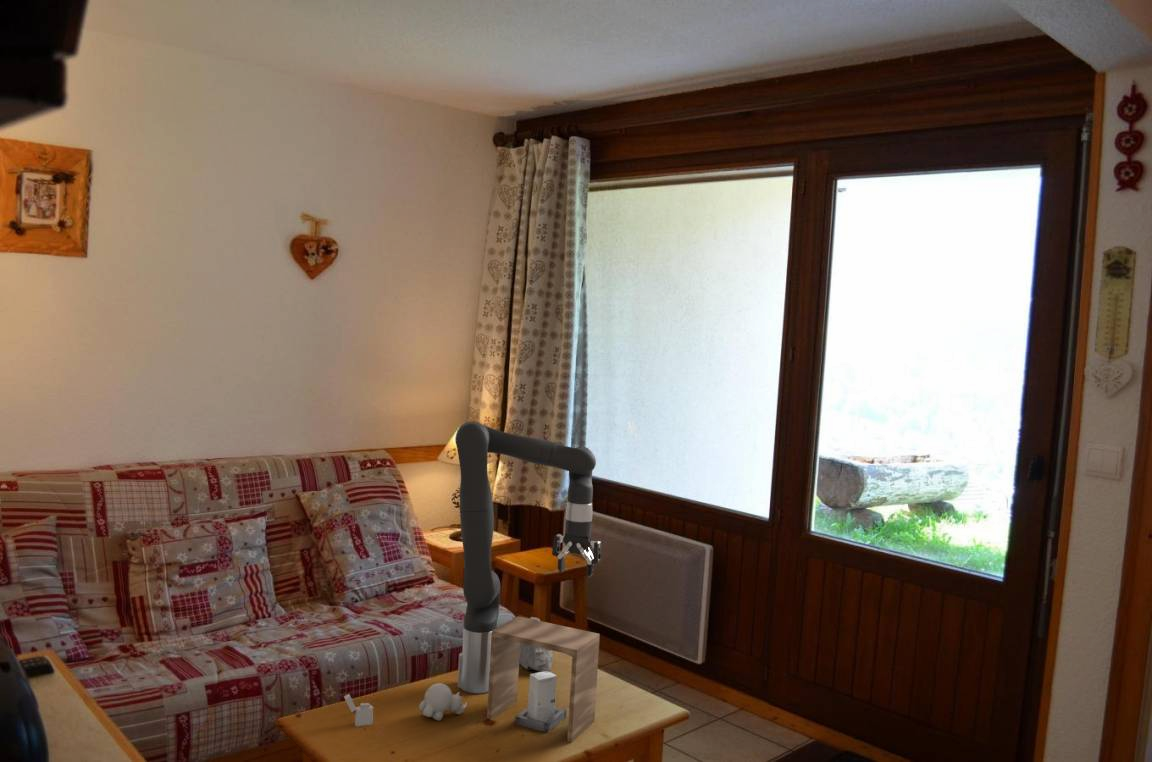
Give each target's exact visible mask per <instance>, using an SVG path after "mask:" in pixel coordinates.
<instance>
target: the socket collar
mask: <svg viewBox="0 0 1152 762" xmlns="http://www.w3.org/2000/svg"><path fill="white" fill-rule="evenodd" d="M527 712H528V706H527V707H526V708H525V709H523V710H521V712H519V713H517V715H515V718H514V719H515V720H514V723H515V725H517V724H518V726H520V725H521V726H520V727H525V728H529V729H531V728H532V730H535V731H539V730H540V731H539V732H542V731H543V733H546V732H547V734H548V733H549V732H551V729H552V728H553V729H554V728H555V727H557V726H558V723H559V722H560V721H561V722H562V721H563V720H564V719H566V718H567V709H566V708H562V707H559V706H558V707H557V706H555V711H554V716H553V717H552V718H551V719H549V720H548V721H547V722H543V721H539V720H535V719H532V718H528V717H527ZM565 717H566V718H565ZM561 722H560V723H561ZM560 723H559V724H560ZM553 729H552V730H553Z"/></svg>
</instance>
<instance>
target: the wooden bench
mask: <svg viewBox="0 0 1152 762" xmlns="http://www.w3.org/2000/svg"><path fill="white" fill-rule="evenodd" d="M529 618H530V617H529ZM529 618H528V617H523V616H518V615H517V616H516V617H513V618H512V619H510V620H509V621H506V622H505V623H503V624H501V625H499V626H498V627H497V628H496V629H494V630H492V634H491V653H490V671H489V690H488V692H487V694H488V695H487V712H486V714H487V715H486V720H487V719H489V720H488V721H492V720H493V718H494V717H495V718H496V717H498V716H499V715H500V714H502V713H503V712H505V711H506V710H507V709H508V707H509V708H510V707H512V706H513V705H514V704H515V703H517V701H518V689H519V673H520V672H519V671H520V664H519V656H520V643H522V644H526V645H531V646H535V647H539V648H544V649H548V650H553V652H557V653H563V654H566V655H570V656H572V657H571V672H570V689H569V706H568V721H567V722H568V725H567V742H568V743H571V744H572V743H573V742H574V741H575V740H576V739H577V738H579V736H580V735H582V734H583V733H584V732H585V731H586V730H587V729H588V728H589V727H590V726H592V724H593V723H594V722H595V718H596V717H595V716H596V700H597V699H596V698H597V686H598V683H597V682H598V671H599V670H598V667H599V654H600V652H599V651H600V639H601V638H600V633H597V632H592V631H588V630H584V629H580V628H575V627H569V626H564V625H561V624H555V623H550V622H546V621H542V620H540V621H538V620H533V619H529ZM512 704H513V705H512ZM505 709H506V710H505ZM501 712H502V713H501ZM497 715H498V716H497ZM495 718H494V719H495ZM491 719H492V720H491Z"/></svg>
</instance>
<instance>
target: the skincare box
mask: <svg viewBox="0 0 1152 762" xmlns="http://www.w3.org/2000/svg"><path fill="white" fill-rule="evenodd" d="M528 683H529V684H528V699H527V707H528V712H527V717H528V718H532V719H535V720H539V721H543V722H547V721H548V720H549V719H551V718H552V717H553V716H554V711H555V707H556V691H557V675H556V674H555V673H552V672H551V671H538V672H535V673H530V674H529V681H528Z"/></svg>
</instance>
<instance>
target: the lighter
mask: <svg viewBox="0 0 1152 762" xmlns="http://www.w3.org/2000/svg"><path fill="white" fill-rule="evenodd" d="M343 698H344V699H345V702H346V704H347V706H348V708H349V710H350V711H351V713H353V712H354V711H355V712H354V713H355V715H354V718H355V719H354V725H355V727H364V726H371V725H373V722H374V720H373V719H374V718H373V717H374V707H373V705H371V704H370V703H368V702H361V703H360V704H359V705H360V706H356V705H355V703H354V700H353V698H352V697H351V695H350V693H348V694H346V695H344V696H343Z"/></svg>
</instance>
